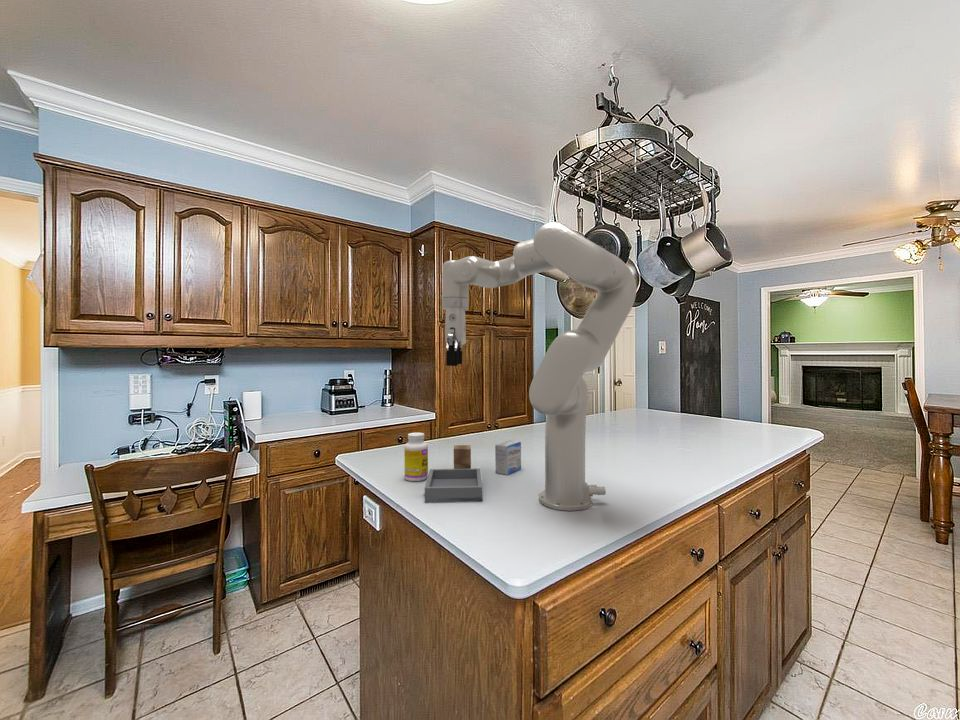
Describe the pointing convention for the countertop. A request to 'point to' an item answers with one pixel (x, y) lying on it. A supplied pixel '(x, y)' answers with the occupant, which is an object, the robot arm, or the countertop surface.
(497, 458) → the medicine box
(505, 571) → the countertop surface
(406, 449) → the supplement bottle
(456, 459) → the walnut block
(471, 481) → the tray
